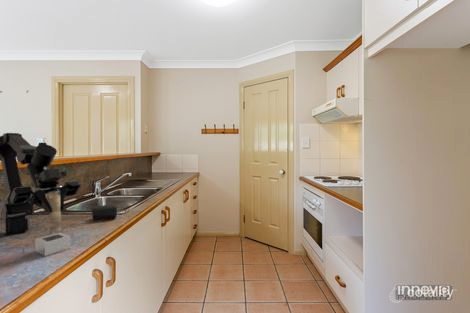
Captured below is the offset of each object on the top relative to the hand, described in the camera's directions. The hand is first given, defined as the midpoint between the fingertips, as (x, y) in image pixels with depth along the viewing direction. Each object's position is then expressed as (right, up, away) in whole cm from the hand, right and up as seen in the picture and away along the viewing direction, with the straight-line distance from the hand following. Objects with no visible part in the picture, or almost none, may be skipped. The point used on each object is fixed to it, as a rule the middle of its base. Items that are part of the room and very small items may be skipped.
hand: (57, 211), depth 80 cm
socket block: (-2, -13, 0) cm, 13 cm away
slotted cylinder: (-1, -7, +1) cm, 7 cm away
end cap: (-3, -12, +35) cm, 37 cm away
